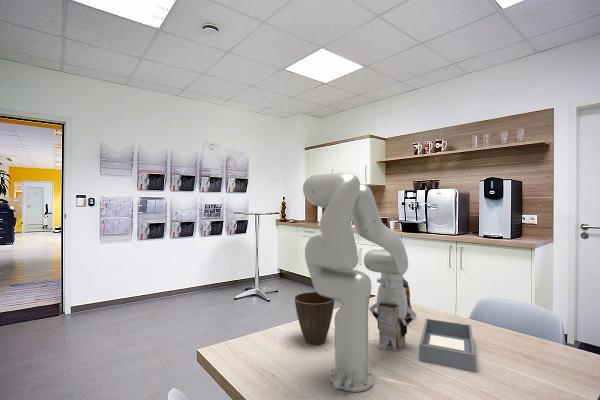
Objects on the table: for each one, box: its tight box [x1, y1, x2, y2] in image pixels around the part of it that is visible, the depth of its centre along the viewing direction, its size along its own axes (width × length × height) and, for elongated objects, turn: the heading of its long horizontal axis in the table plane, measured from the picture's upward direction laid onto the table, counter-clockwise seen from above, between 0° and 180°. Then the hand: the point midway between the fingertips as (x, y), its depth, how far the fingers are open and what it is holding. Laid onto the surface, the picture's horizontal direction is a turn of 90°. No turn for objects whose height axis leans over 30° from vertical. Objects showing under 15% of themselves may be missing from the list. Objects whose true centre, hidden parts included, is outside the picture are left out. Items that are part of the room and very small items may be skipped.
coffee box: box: [378, 303, 406, 352], centre depth 110 cm, size 9×6×16 cm
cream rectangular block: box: [429, 335, 465, 352], centre depth 101 cm, size 8×10×5 cm
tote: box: [418, 318, 477, 373], centre depth 107 cm, size 26×16×6 cm, turn 154°
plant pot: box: [294, 291, 335, 346], centre depth 116 cm, size 15×15×16 cm
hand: (392, 333), depth 110 cm, fingers closed on coffee box, 7 cm apart
